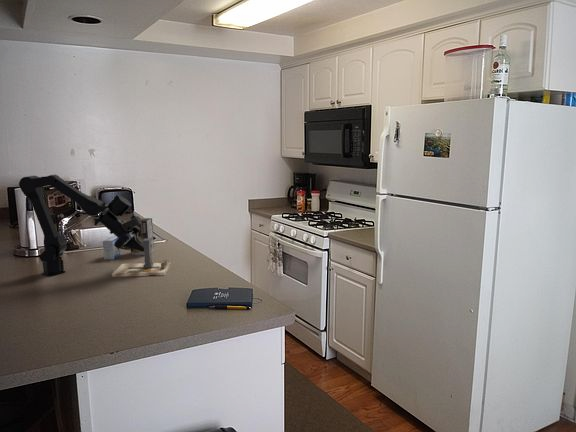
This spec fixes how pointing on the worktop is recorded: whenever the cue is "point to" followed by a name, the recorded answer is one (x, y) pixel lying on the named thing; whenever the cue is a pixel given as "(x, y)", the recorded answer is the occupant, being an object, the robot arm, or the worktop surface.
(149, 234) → the coffee box
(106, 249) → the medicine box
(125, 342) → the worktop surface
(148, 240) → the dark grey tall block
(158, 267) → the switch panel
